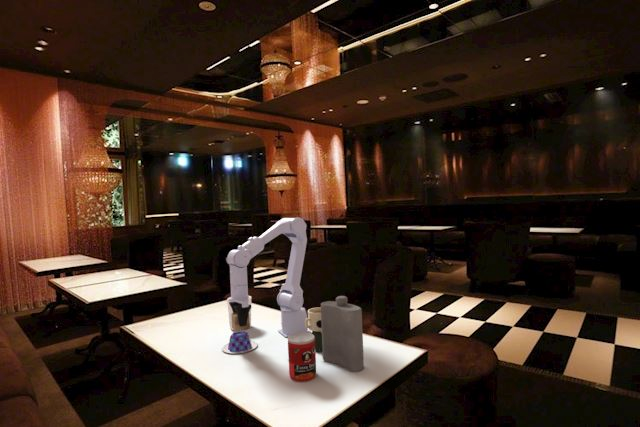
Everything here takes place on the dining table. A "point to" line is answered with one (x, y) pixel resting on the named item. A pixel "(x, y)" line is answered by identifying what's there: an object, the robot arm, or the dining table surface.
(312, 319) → the character mug
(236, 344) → the pudding
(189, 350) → the dining table surface
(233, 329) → the candle holder
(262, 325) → the dining table surface
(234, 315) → the walnut block
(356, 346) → the flask
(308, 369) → the canned food
